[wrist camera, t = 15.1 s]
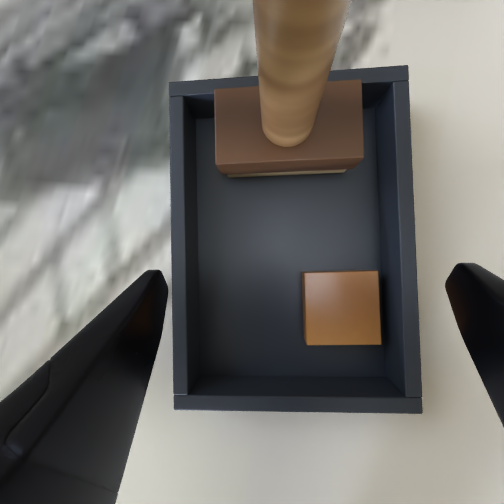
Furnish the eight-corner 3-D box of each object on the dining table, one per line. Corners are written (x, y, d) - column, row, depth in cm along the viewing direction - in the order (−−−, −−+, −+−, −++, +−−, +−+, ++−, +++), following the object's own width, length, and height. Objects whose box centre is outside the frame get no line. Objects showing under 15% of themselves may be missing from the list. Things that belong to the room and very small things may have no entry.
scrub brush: (347, 176, 17) (622, -128, 4) (225, 181, 17) (78, -66, 4) (345, 111, 17) (603, -409, 4) (223, 118, 17) (78, -314, 4)
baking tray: (396, 386, 16) (423, 414, 13) (190, 384, 17) (173, 410, 14) (384, 98, 17) (408, 64, 14) (185, 111, 18) (168, 81, 15)
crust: (372, 337, 16) (381, 344, 15) (303, 338, 16) (306, 345, 15) (369, 269, 16) (378, 270, 15) (301, 271, 17) (304, 272, 15)
